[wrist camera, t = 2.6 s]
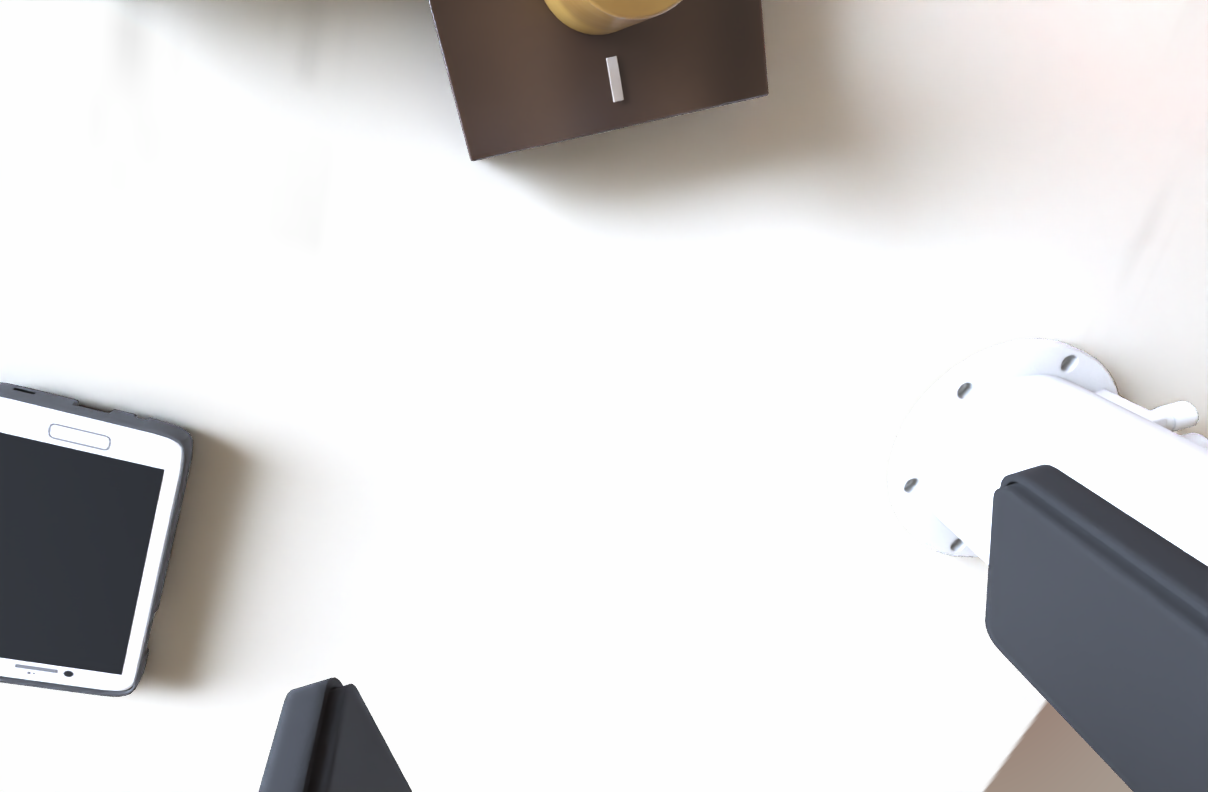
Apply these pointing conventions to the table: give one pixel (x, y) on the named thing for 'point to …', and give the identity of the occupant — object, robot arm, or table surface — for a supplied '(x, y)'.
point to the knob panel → (591, 69)
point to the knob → (607, 13)
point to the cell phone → (83, 539)
